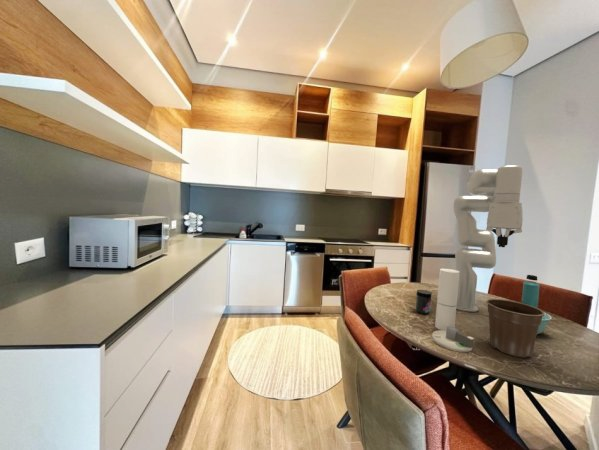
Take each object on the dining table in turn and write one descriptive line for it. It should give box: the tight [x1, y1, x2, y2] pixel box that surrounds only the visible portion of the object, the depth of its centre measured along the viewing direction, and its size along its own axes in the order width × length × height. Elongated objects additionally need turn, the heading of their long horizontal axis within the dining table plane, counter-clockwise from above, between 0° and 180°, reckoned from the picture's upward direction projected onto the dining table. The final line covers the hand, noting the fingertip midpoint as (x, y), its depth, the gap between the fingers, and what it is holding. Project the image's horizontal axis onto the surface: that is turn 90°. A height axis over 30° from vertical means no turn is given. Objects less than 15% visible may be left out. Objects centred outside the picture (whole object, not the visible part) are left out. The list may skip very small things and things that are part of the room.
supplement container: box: [414, 289, 433, 316], centre depth 123 cm, size 7×7×10 cm
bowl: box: [537, 312, 552, 335], centre depth 109 cm, size 16×16×8 cm
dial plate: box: [432, 329, 473, 353], centre depth 95 cm, size 13×13×2 cm
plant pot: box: [485, 298, 546, 359], centre depth 92 cm, size 16×16×16 cm
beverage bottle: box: [521, 274, 541, 309], centre depth 129 cm, size 6×7×20 cm
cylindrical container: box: [434, 268, 459, 331], centre depth 107 cm, size 7×7×25 cm
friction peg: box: [446, 326, 475, 349], centre depth 92 cm, size 10×4×4 cm, turn 21°
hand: (501, 246), depth 96 cm, fingers closed
